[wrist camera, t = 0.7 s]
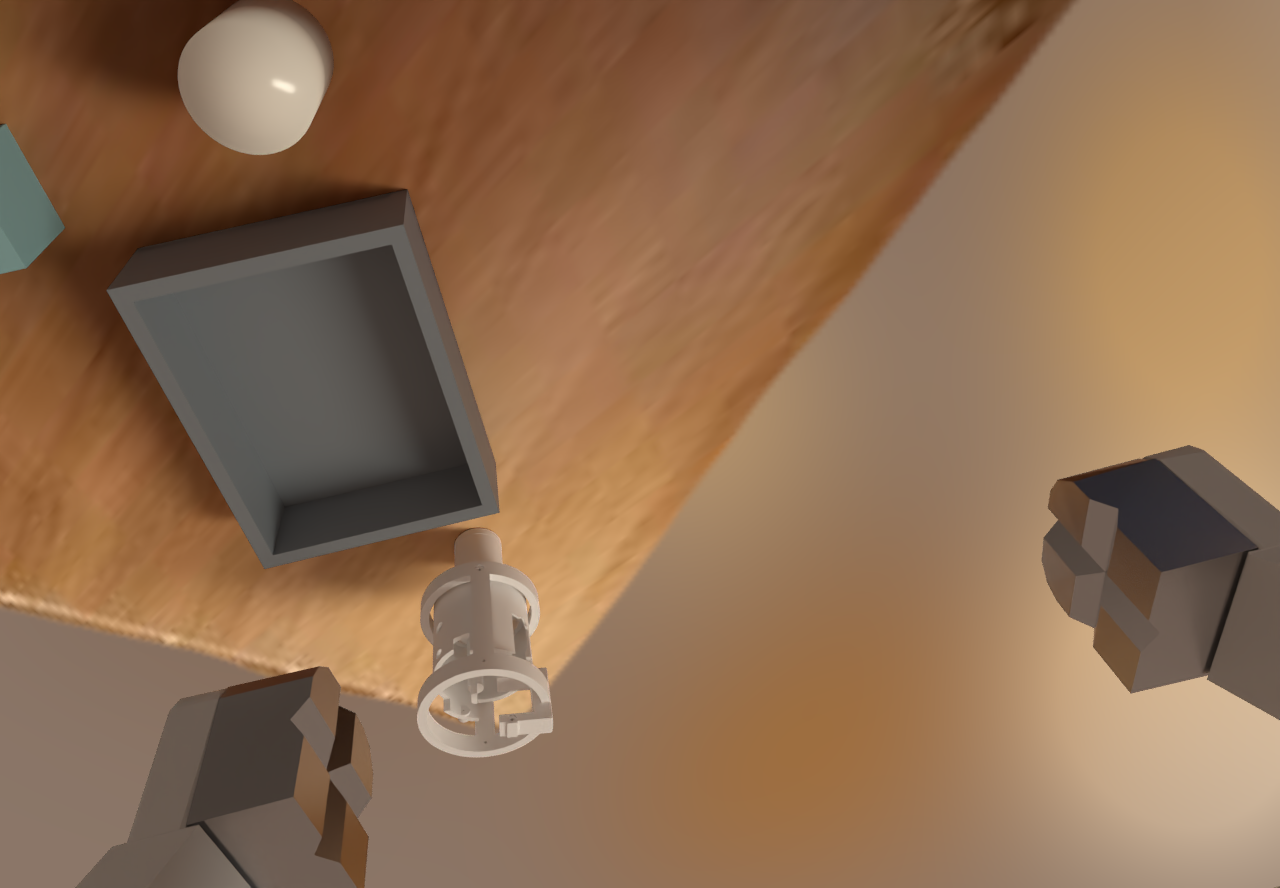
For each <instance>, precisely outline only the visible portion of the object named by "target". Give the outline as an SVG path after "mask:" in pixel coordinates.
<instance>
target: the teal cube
mask: <svg viewBox="0 0 1280 888" xmlns="http://www.w3.org/2000/svg"><path fill="white" fill-rule="evenodd" d="M64 229H65V227H64V225H63V223H62V221H61V220H60V218H59V216H58V214H57V213H56V211H55V209H54V207H53V206H52V204H51V202H50V200H49V199H48V197H47V195H46V193H45V192H44V190H43V188H42V186H41V185H40V183H39V181H38V179H37V178H36V176H35V174H34V172H33V171H32V169H31V167H30V165H29V164H28V162H27V160H26V158H25V157H24V155H23V153H22V151H21V150H20V148H19V146H18V144H17V143H16V141H15V139H14V137H13V136H12V134H11V132H10V130H9V129H8V127H7V125H6V124H3V125H0V274H2V273H7V272H11V271H16V270H20V269H25V268H27V267H28V266H29V265H30V264H31V263H32V262H33V261H34V260H35V259H36V258H37V257H38V256H39V255H40V253H41V252H42V251H43V250H44V249H45V248H46V247H47V246H48V245H49V244H50V243H51V242H52V241H53V240H54V239H55V238H56V237H57V236H58V235H59V234H60V233H61V232H62V231H63V230H64Z"/></svg>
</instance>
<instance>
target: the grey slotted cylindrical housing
mask: <svg viewBox="0 0 1280 888" xmlns="http://www.w3.org/2000/svg"><path fill="white" fill-rule="evenodd" d="M454 555H455V567H453V568H451V569H449V570H447V571H445V572H443V573H442V574H440V575H439V576H438V577H436V578H435V579H434V580H433V581H432V582H431V583H430V584H429V586H428V587H427V589H426V590H425V592H424V594H423V597H422V601H421V619H420V621H421V628H422V631H423V633H424V635H425V637H426V638H427V639H428V641H429V642H430V643H431V644H432V645H433V673H432V674H431V675H430V676H429V677H428V678H427V680H426V681H425V682H424V684H423V685H422V687H421V689H420V692H419V695H418V708H417V723H418V727H419V730H420V732H421V734H422V735H423V737H424V738H425V739H426V740H427V741H428V742H429V743H430V744H432V745H433V746H435V747H436V748H438V749H440V750H442V751H444V752H447V753H450V754H454V755H458V756H464V757H488V756H495V755H500V754H503V753H507V752H510V751H513V750H515V749H518V748H520V747H522V746H524V745H525V744H527V743H528V742H530V741H531V740H533V739H534V738H535V737H536V736H538V735H539V734H540V733H551V732H552V730H553V716H552V708H551V699H550V691H549V683H548V674H547V668H537V667H536V666H534V665H533V663H532V653H531V643H530V637H531V635H532V634H533V633H534V631H535V629H536V628H537V625H538V622H539V618H540V608H539V599H538V593H537V590H536V588H535V586H534V584H533V582H532V581H531V580H530V579H529V578H528V577H527V576H526V575H525V574H524V573H522V572H521V571H519V570H518V569H516V568H514V567H511V566H509V565H506V564H503V563H502V547H501V540H500V538H499V537H498V535H497V534H495V533H494V532H493V531H491V530H488V529H484V528H474V529H470V530H467V531H465V532H463V533H462V534H460V535H459V536H458V538H457V539H456V541H455V544H454ZM526 598H527V599H528V601H529V603H530V609H529V612H528V614H527V605H526ZM433 604H434V621H433V619H432V617H431V615H430V611H431V608H432V606H433ZM519 690H531V700H532V710H533V712H527V713H516V714H505V715H499V730H500V732H499V733H495V722H494V704H493V701H496V700H500V699H503V698H505V697H508V696H510V695H512V694H513V693H515V692H516V691H519ZM438 694H439V695H440V696H441V697H442V698H443V699H444V712H446V713H447V714H449V715H451V716H453V717H456V718H458V720H459V721H460V722H463V723H464V722H467V721H475V734H476V735H466V734H460V733H456V732H453V731H451V730H448V729H446V728H444V727H443V726H441V725H440V724H438V723H437V722H436V721H435V720H434V719H433V717H432V716H431V714H430V712H429V710H428V709H429V706H430V705H431V703H432V701H433V700H434V699H435V698H436V696H437V695H438Z"/></svg>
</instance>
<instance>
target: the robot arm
mask: <svg viewBox="0 0 1280 888" xmlns="http://www.w3.org/2000/svg"><path fill="white" fill-rule="evenodd" d="M1048 509H1049V510H1050V511H1051V512H1052V513H1053V514H1054V516H1055V517H1056V518H1057V519H1058V521H1057V522H1056V523H1055V525H1054V526H1053V527H1052V528H1051V529H1050V531H1049V532H1048V533H1047V534H1046V536H1045V537H1044V541H1043V552H1042V563H1043V567H1044V571H1045V575H1046V579H1047V583H1048V585H1049V587H1050V589H1051V591H1052V593H1053V595H1054V597H1055V598H1056V600H1057V602H1058V603H1059V604H1060V606H1061V607H1062V608H1063V609H1064V611H1065V612H1066V613H1067V615H1068V616H1069V617H1071V618H1073V619H1075V620H1077V621H1080V622H1082V623H1084V624H1086V625H1089V626H1091V627H1093V628H1094V640H1093V647H1094V649H1095V650H1096V651H1097V652H1098V654H1099V655H1100V656H1101V657H1102V658H1103V660H1104V661H1105V662H1106V663H1107V665H1108V666H1109V667H1110V668H1111V669H1112V671H1113V672H1114V673H1115V675H1116V676H1117V677H1118V678H1119V679H1120V681H1121V682H1122V683H1123V684H1124V686H1125V687H1126V688H1127V689H1128V691H1129V692H1130V693H1135V692H1139V691H1143V690H1147V689H1152V688H1156V687H1160V686H1164V685H1169V684H1173V683H1177V682H1181V681H1185V680H1190V679H1194V678H1198V677H1203V676H1207V675H1208V678H1207V680H1209V681H1211V682H1213V683H1215V684H1216V685H1218V686H1220V687H1222V688H1223V689H1225V690H1227V691H1229V692H1231V693H1232V694H1234V695H1236V696H1238V697H1239V698H1241V699H1243V700H1245V701H1247V702H1248V703H1250V704H1252V705H1254V706H1256V707H1257V708H1259V709H1261V710H1263V711H1265V712H1266V713H1268V714H1270V715H1272V716H1273V717H1275V718H1277V719H1279V720H1280V511H1279V510H1277V509H1276V508H1275V507H1274V506H1272V505H1271V504H1270V503H1269V502H1267V501H1266V500H1265V499H1264V498H1263V497H1261V496H1260V495H1259V494H1258V493H1256V492H1255V491H1253V489H1251V488H1250V487H1249V486H1247V485H1246V484H1245V483H1244V482H1243V481H1241V480H1240V479H1239V478H1238V477H1236V476H1235V475H1234V474H1233V473H1231V472H1230V471H1229V470H1228V469H1226V468H1225V467H1224V466H1223V465H1221V464H1220V463H1219V462H1218V461H1217V460H1215V459H1214V458H1213V457H1212V456H1210V455H1209V454H1208V453H1207V452H1205V451H1204V450H1202V449H1199V448H1196V447H1193V446H1190V445H1188V446H1184V447H1180V448H1177V449H1173V450H1169V451H1165V452H1161V453H1158V454H1154V455H1150V456H1146V457H1144V458H1143V459H1135V460H1131V461H1128V462H1124V463H1120V464H1116V465H1112V466H1108V467H1105V468H1101V469H1097V470H1093V471H1090V472H1086V473H1082V474H1078V475H1074V476H1071V477H1067V478H1063V479H1059V480H1057V482H1056V483H1055V485H1054V486H1053V488H1052V489H1051V491H1050V498H1049V504H1048ZM340 689H341V687H340V685H339V683H338V682H337V680H336V679H335V677H334V676H333V674H332V672H331V671H330V669H329V668H328V667H320V666H319V667H315V668H310V669H306V670H301V671H297V672H293V673H288V674H284V675H279V676H275V677H271V678H266V679H262V680H257V681H253V682H249V683H244V684H240V685H235V686H231V687H228V688H227V689H222V690H218V691H214V692H209V693H204V694H200V695H195V696H191V697H186V698H182V699H180V700H179V701H178V702H177V703H176V704H175V706H174V707H173V708H172V709H171V710H170V712H169V714H168V717H167V720H166V723H165V726H164V730H163V733H162V736H161V739H160V742H159V745H158V748H157V751H156V755H155V758H154V761H153V764H152V767H151V770H150V773H149V776H148V780H147V782H146V786H145V789H144V792H143V795H142V798H141V801H140V804H139V808H138V811H137V814H136V817H135V820H134V823H133V826H132V829H131V832H130V836H129V838H128V842H127V843H124V844H121V845H117V846H114V847H112V848H111V849H110V850H109V851H108V852H107V853H106V854H105V855H104V856H103V858H102V859H101V860H100V861H99V862H98V863H97V864H96V865H95V866H94V868H93V869H92V870H91V871H90V872H89V873H88V874H87V875H86V876H85V878H84V879H83V880H82V881H81V882H80V883H79V884H78V885H77V886H76V887H75V888H364V886H365V874H366V862H367V849H368V838H369V837H368V835H367V833H366V832H365V830H364V829H363V827H362V825H361V824H360V822H359V820H358V819H357V818H358V817H359V816H360V814H361V813H362V811H363V810H364V808H365V807H366V805H367V804H368V803H369V801H370V800H371V798H372V784H373V769H372V761H371V753H370V746H369V743H368V740H367V737H366V734H365V731H364V728H363V726H362V724H361V722H360V720H359V718H358V717H357V715H356V713H354V712H352V711H349V710H347V709H345V708H343V707H340V706H339V698H340ZM1275 888H1280V886H1279V887H1275Z"/></svg>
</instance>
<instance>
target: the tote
mask: <svg viewBox="0 0 1280 888" xmlns="http://www.w3.org/2000/svg"><path fill="white" fill-rule="evenodd" d="M107 292H108V294H109V296H110V297H111V299H112V301H113V303H114V305H115V306H116V308H117V310H118V312H119V313H120V315H121V317H122V319H123V320H124V322H125V324H126V326H127V327H128V329H129V331H130V333H131V334H132V336H133V338H134V340H135V342H136V343H137V345H138V347H139V349H140V350H141V352H142V354H143V356H144V357H145V359H146V361H147V363H148V364H149V366H150V368H151V370H152V371H153V373H154V375H155V377H156V379H157V380H158V382H159V384H160V386H161V387H162V389H163V391H164V393H165V394H166V396H167V398H168V400H169V401H170V403H171V405H172V407H173V408H174V410H175V412H176V414H177V416H178V417H179V419H180V421H181V423H182V424H183V426H184V428H185V430H186V431H187V433H188V435H189V437H190V438H191V440H192V442H193V444H194V445H195V447H196V449H197V451H198V453H199V454H200V456H201V458H202V460H203V461H204V463H205V465H206V467H207V468H208V470H209V472H210V474H211V475H212V477H213V479H214V481H215V482H216V484H217V486H218V488H219V490H220V491H221V493H222V495H223V497H224V498H225V500H226V502H227V504H228V505H229V507H230V509H231V511H232V512H233V514H234V516H235V518H236V519H237V521H238V523H239V525H240V527H241V528H242V530H243V532H244V534H245V535H246V537H247V539H248V541H249V542H250V544H251V546H252V548H253V549H254V551H255V553H256V555H257V556H258V558H259V560H260V562H261V564H262V565H263V567H264V569H267V568H271V567H275V566H279V565H283V564H288V563H292V562H296V561H300V560H304V559H308V558H313V557H317V556H321V555H325V554H329V553H333V552H338V551H342V550H346V549H350V548H354V547H358V546H362V545H367V544H371V543H375V542H379V541H383V540H387V539H392V538H396V537H400V536H404V535H408V534H412V533H416V532H421V531H425V530H429V529H433V528H437V527H441V526H446V525H450V524H454V523H458V522H462V521H466V520H471V519H475V518H479V517H483V516H487V515H491V514H495V513H500V512H499V500H498V487H497V474H496V462H495V459H494V456H493V453H492V450H491V447H490V444H489V441H488V437H487V434H486V431H485V428H484V425H483V422H482V419H481V416H480V413H479V410H478V406H477V403H476V400H475V397H474V394H473V391H472V388H471V385H470V382H469V379H468V376H467V372H466V369H465V366H464V363H463V360H462V357H461V354H460V351H459V348H458V345H457V341H456V338H455V335H454V332H453V329H452V326H451V323H450V320H449V317H448V314H447V311H446V307H445V304H444V301H443V298H442V295H441V292H440V289H439V286H438V283H437V280H436V276H435V273H434V270H433V267H432V264H431V261H430V258H429V255H428V252H427V249H426V245H425V242H424V239H423V236H422V233H421V230H420V227H419V224H418V221H417V218H416V215H415V211H414V208H413V205H412V202H411V199H410V196H409V193H408V190H407V189H406V190H402V191H397V192H392V193H388V194H383V195H379V196H374V197H370V198H365V199H361V200H356V201H351V202H347V203H342V204H338V205H333V206H329V207H324V208H320V209H315V210H310V211H306V212H301V213H297V214H292V215H288V216H283V217H279V218H274V219H270V220H265V221H260V222H256V223H251V224H247V225H242V226H238V227H233V228H229V229H224V230H219V231H215V232H210V233H206V234H201V235H197V236H192V237H188V238H183V239H178V240H174V241H169V242H165V243H160V244H156V245H151V246H147V247H142V248H138V249H137V250H136V252H135V253H134V254H133V256H132V257H131V258H130V260H129V261H128V262H127V264H126V265H125V266H124V268H123V269H122V270H121V272H120V273H119V274H118V276H117V277H116V278H115V280H114V281H113V282H112V284H111V285H110V286H109V288H108V289H107Z"/></svg>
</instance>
